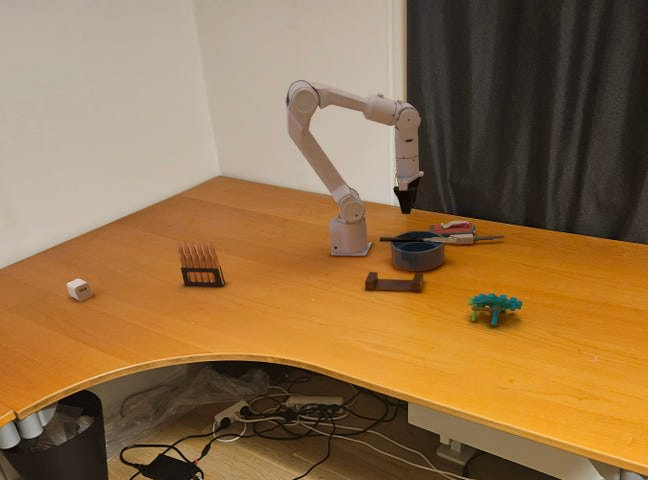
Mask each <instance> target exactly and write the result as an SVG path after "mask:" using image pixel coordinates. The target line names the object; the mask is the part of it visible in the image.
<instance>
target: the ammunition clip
mask: <svg viewBox="0 0 648 480" xmlns="http://www.w3.org/2000/svg"><path fill="white" fill-rule="evenodd" d="M176 246H177V247H176V248H177V252H178V253H177V254H178V259H179V262H180V271H181V276H182V280H183V285H184V287H204V288H205V287H206V288H207V287H208V288H223V287H224V285H225V284H226V280H225V277H224V273H223V270H222V266H221V265H220V263H219V262H220V261H219V257H218V254H217V252H216V249H215V246H214V243H213V242H212V241H211V240H210V241H209V246H208V244H207V242H206V241H205V240H204V241H203V242H202V245H201V243H200V242H199V240H197V241H196V246H195V244H194V242H193V241H192V240H190V242H189V244H188V243H187V241H185V240H183V246H182V244H181V242H180V241H179V240H177V241H176Z"/></svg>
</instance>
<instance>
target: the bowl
mask: <svg viewBox="0 0 648 480" xmlns="http://www.w3.org/2000/svg"><path fill="white" fill-rule="evenodd" d="M394 237H408V238H433V237H441V238H444V237H443V236H442V235H440V234H438V233H435V232H431V231H430V230H410V231H405V232H402V233H399V234H397V235H395V236H394ZM390 258H391V260H390V261H391V263H392V265H393V266H394V267H395V268H397V269H399V270H403V271H408V272H423V271H424V272H425V271H429V270H433V269H436V268H437V267H440V266H441V265H442V264H443V263H444V262H445V259H446V243H431V242H390Z"/></svg>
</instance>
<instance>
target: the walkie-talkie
mask: <svg viewBox="0 0 648 480" xmlns="http://www.w3.org/2000/svg"><path fill="white" fill-rule="evenodd" d="M476 229H477V228H476V225H473V222H469V221H468V220H467V219H463V220H451V221H450V222H448V223H445V224H444V222H440V224H430V225H429V230H428V231H431V232H435V233H438V234H440V235H442V236H443V237H444V238H457V242H456V244H455V245H474V242H478V241H493V240H498V239H505V236H504V235H503V234H502V235H501V234H500V235H482V236H481V235H480V236H478V235H476V233H477V232H476V231H477V230H476Z"/></svg>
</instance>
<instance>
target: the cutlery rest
mask: <svg viewBox="0 0 648 480" xmlns="http://www.w3.org/2000/svg"><path fill="white" fill-rule="evenodd" d="M378 274H379V273H378V271H369V272H368V274H367V276H366V278H365V281H364V284H365V285H364V286H365V287H364V288H365V291H368V292H369V291H372V292H373V291H374V292H375V291H376V292H397V293H398V292H399V293H402V292H403V293H421V292H422V289H423V285H424V281H425V280H424V278H425V277H424V273H423V272H415V273H414V275H413V278H412V279H388V278H387V279H385V278H379V275H378Z"/></svg>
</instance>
